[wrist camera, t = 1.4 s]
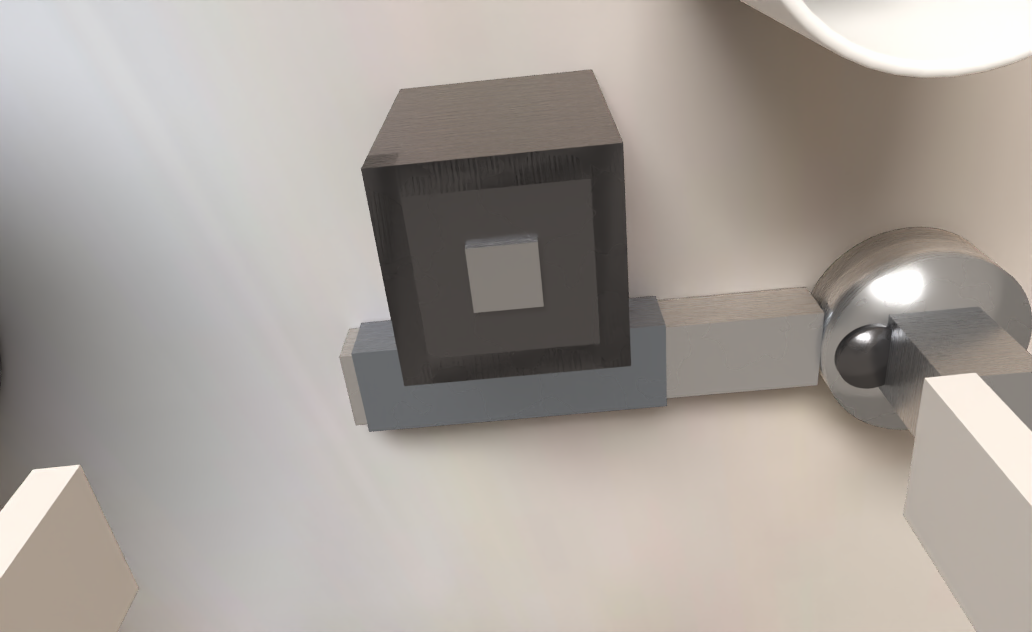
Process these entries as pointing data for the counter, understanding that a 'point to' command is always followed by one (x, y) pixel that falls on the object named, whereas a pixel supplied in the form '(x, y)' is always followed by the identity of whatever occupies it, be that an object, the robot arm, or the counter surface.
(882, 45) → the mug
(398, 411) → the ratchet
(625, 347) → the socket
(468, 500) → the counter surface
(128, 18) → the counter surface
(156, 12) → the counter surface
